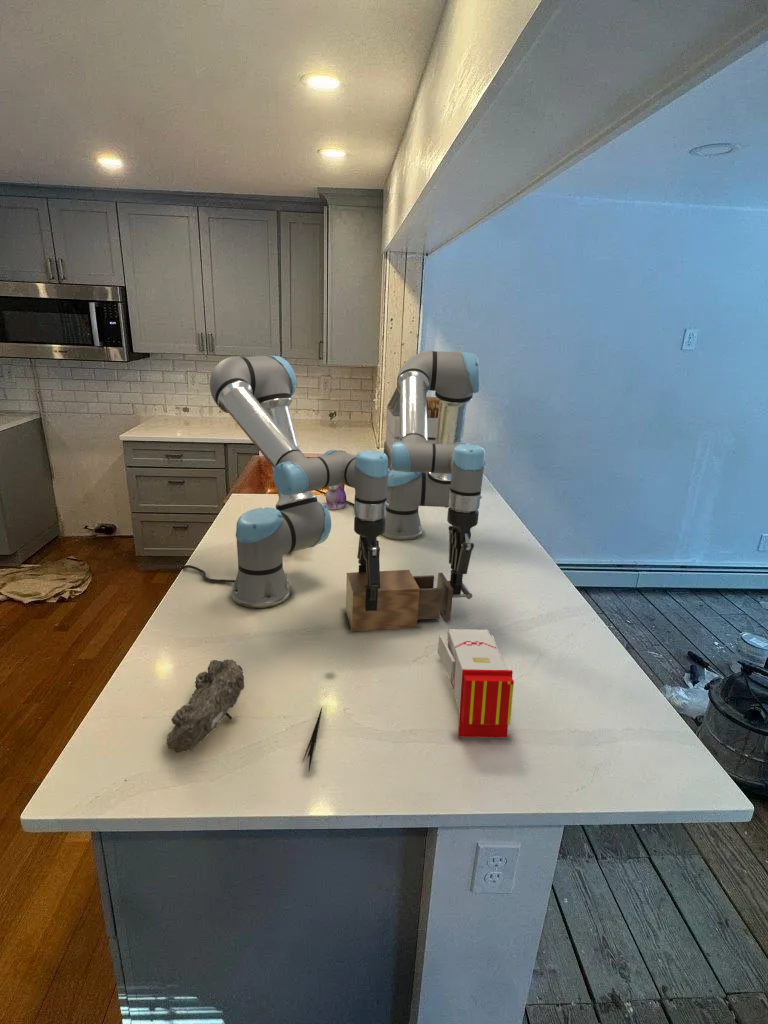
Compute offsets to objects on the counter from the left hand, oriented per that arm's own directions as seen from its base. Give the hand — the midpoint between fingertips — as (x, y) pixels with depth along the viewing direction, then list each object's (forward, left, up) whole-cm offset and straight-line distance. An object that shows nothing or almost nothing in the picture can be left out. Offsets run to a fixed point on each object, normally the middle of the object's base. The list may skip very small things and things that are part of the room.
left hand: (367, 598), depth 142 cm
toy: (+30, -20, -6) cm, 36 cm away
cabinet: (+3, +2, -6) cm, 7 cm away
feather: (+4, -38, -6) cm, 39 cm away
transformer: (-20, +139, -6) cm, 140 cm away
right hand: (+20, +11, 0) cm, 23 cm away
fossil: (-16, -45, -6) cm, 48 cm away
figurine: (-39, +77, -6) cm, 87 cm away
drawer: (+14, +8, -5) cm, 17 cm away
